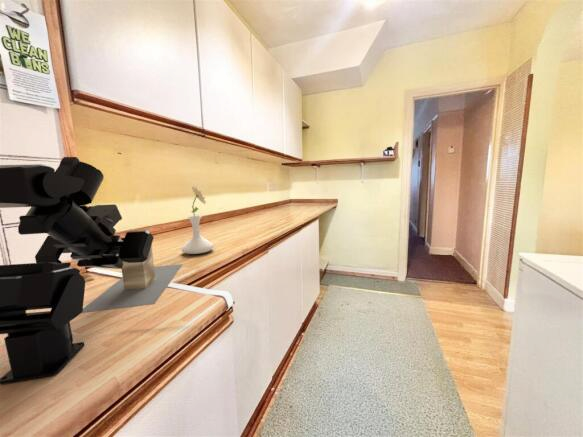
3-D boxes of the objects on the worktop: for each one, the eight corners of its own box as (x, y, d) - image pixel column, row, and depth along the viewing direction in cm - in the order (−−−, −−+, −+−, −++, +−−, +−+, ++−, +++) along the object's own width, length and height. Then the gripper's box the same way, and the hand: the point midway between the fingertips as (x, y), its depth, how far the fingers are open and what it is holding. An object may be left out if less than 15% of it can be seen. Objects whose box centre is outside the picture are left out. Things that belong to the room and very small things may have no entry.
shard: (39, 300, 56) (38, 292, 56) (32, 292, 60) (30, 286, 60) (96, 283, 65) (95, 277, 64) (86, 277, 69) (85, 271, 69)
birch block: (146, 288, 58) (139, 240, 56) (124, 289, 58) (117, 241, 56) (155, 279, 63) (150, 235, 61) (135, 281, 63) (129, 236, 61)
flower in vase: (212, 255, 86) (206, 185, 83) (178, 258, 84) (171, 186, 80) (215, 246, 99) (210, 185, 95) (185, 248, 96) (179, 186, 93)
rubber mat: (154, 306, 50) (154, 303, 50) (77, 315, 47) (77, 313, 47) (183, 265, 75) (183, 264, 75) (134, 270, 72) (133, 268, 72)
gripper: (143, 189, 46) (172, 234, 58) (37, 193, 44) (91, 237, 57) (123, 239, 39) (161, 277, 52) (-1, 245, 38) (69, 282, 50)
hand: (120, 266), depth 53 cm, fingers closed
